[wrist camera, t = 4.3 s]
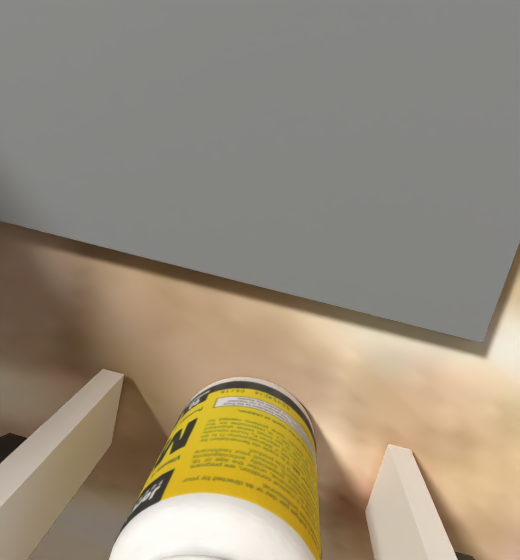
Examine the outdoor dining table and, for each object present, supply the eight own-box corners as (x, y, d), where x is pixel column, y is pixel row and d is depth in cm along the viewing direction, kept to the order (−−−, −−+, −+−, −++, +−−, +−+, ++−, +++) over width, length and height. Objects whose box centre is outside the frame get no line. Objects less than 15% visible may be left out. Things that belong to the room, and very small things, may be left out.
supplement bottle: (195, 356, 15) (67, 566, 7) (332, 394, 15) (374, 656, 6) (165, 477, 16) (23, 788, 8) (293, 514, 16) (287, 871, 8)
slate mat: (-44, 203, 14) (-64, 204, 14) (-4, -289, 12) (-26, -323, 11) (471, 334, 14) (482, 342, 13) (649, -150, 11) (675, -176, 10)
